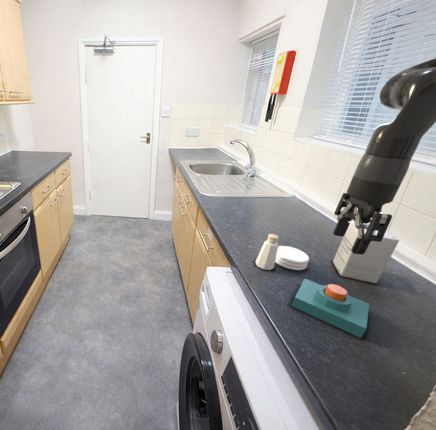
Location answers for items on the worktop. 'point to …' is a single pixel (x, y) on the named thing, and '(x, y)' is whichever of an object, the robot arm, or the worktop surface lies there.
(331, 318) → the button base
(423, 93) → the robot arm
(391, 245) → the rectangular carton
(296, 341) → the worktop surface
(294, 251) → the white round stack
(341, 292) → the orange button cap
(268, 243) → the pepper shaker
